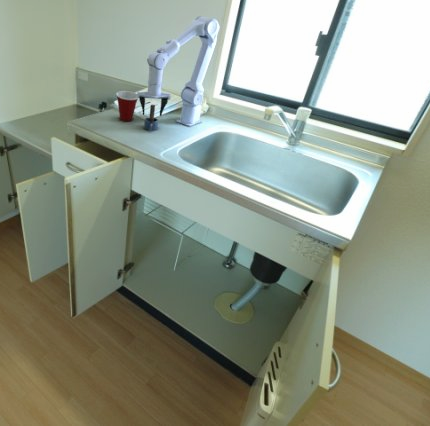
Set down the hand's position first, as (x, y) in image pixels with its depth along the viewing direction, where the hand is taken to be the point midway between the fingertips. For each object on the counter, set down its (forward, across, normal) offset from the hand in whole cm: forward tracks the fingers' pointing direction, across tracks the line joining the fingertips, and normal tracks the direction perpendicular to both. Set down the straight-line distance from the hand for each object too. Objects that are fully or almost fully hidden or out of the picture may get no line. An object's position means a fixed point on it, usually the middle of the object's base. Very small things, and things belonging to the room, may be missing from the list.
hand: (152, 114), depth 147 cm
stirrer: (+6, 0, 0) cm, 6 cm away
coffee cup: (+6, 0, -1) cm, 6 cm away
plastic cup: (+6, -11, +9) cm, 16 cm away
